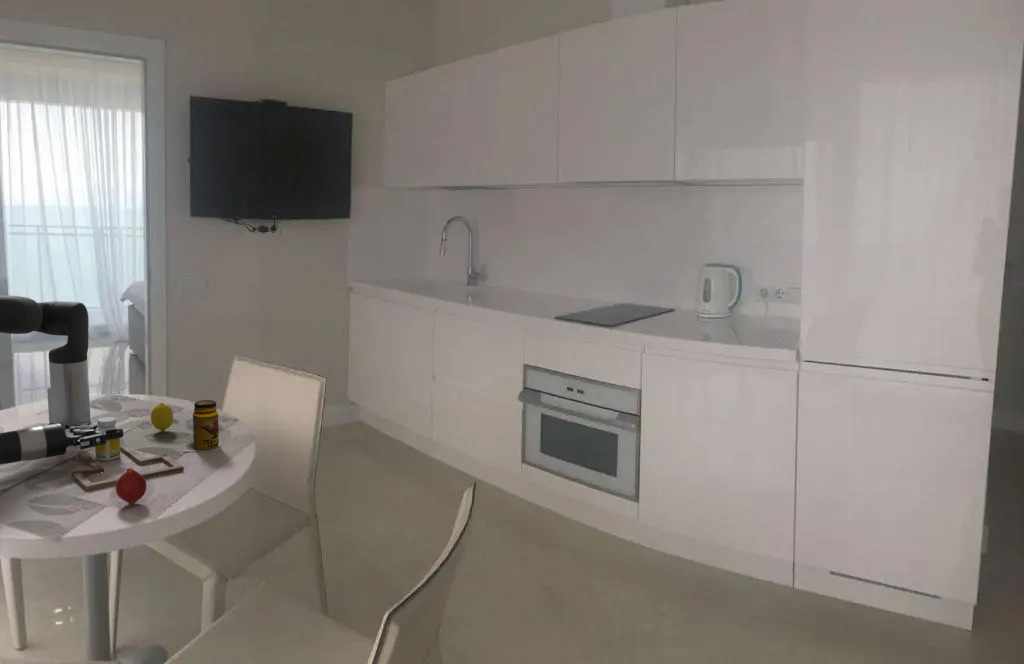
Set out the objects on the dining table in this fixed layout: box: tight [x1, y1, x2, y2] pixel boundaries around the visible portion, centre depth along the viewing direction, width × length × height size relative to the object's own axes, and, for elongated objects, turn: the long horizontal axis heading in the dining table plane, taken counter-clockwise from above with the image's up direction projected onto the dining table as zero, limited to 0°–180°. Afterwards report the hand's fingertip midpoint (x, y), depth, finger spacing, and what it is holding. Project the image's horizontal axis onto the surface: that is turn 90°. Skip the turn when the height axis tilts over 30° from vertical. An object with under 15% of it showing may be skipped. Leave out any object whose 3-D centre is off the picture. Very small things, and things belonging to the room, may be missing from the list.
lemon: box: [150, 402, 174, 433], centre depth 217 cm, size 6×6×8 cm
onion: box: [115, 467, 147, 505], centre depth 169 cm, size 6×6×8 cm
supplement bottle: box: [94, 416, 121, 462], centre depth 195 cm, size 5×5×10 cm
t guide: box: [70, 444, 185, 492], centre depth 191 cm, size 24×21×1 cm
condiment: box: [182, 399, 223, 453], centre depth 206 cm, size 7×8×12 cm
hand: (118, 429), depth 197 cm, fingers closed on supplement bottle, 5 cm apart
